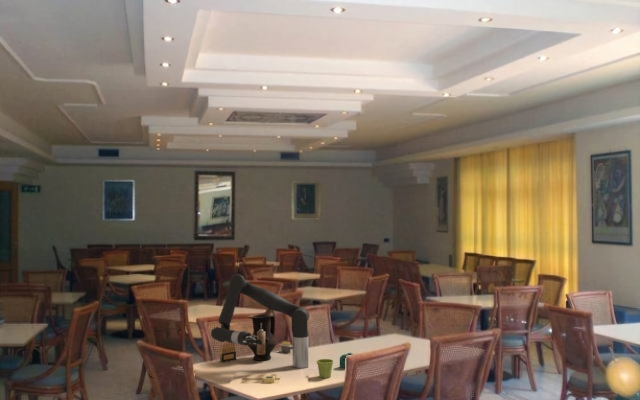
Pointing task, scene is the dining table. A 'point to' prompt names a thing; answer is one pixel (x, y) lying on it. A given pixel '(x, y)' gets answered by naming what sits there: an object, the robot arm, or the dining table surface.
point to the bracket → (343, 360)
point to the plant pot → (325, 367)
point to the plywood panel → (258, 378)
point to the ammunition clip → (227, 352)
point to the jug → (268, 327)
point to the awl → (262, 337)
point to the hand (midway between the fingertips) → (264, 341)
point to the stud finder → (269, 379)
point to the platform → (286, 346)
